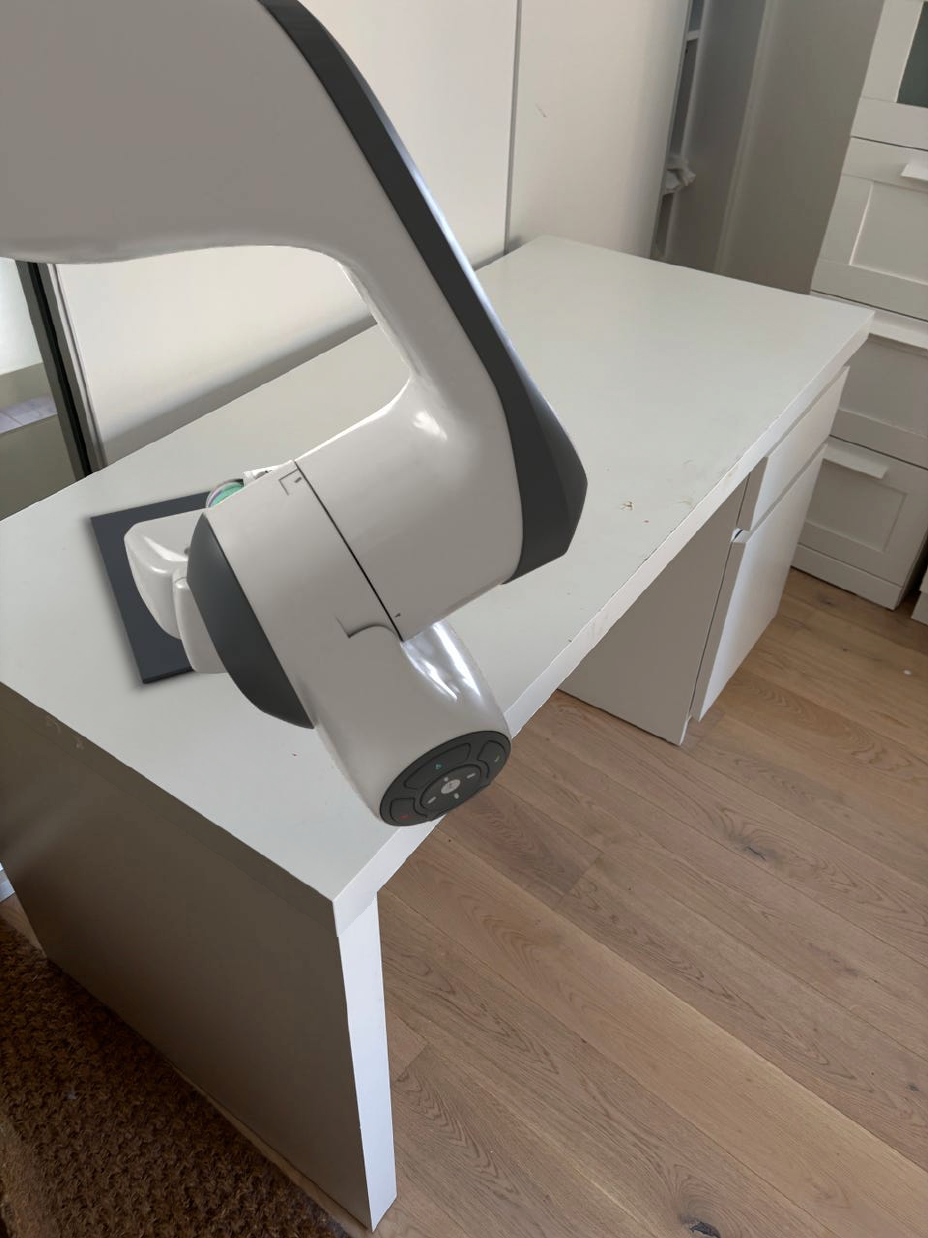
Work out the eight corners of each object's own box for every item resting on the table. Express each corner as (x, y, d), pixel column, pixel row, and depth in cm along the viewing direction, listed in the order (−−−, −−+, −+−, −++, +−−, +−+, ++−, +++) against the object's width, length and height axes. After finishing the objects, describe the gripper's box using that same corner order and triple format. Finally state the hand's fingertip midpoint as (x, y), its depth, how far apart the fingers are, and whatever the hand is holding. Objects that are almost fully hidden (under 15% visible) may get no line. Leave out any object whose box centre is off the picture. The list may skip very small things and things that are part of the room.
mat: (143, 683, 73) (142, 679, 73) (90, 520, 90) (89, 517, 89) (432, 602, 81) (432, 598, 81) (335, 466, 98) (335, 463, 97)
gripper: (497, 507, 57) (406, 406, 67) (146, 593, 50) (100, 466, 59) (492, 591, 61) (407, 484, 71) (167, 682, 54) (120, 549, 64)
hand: (264, 476), depth 65 cm, fingers closed
